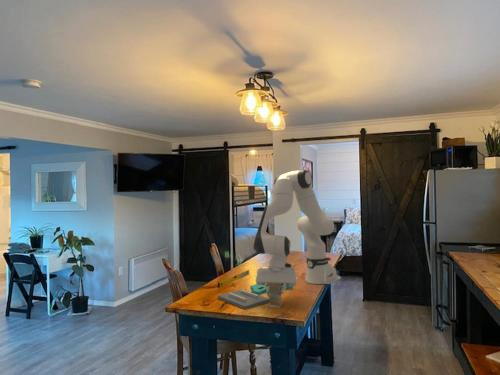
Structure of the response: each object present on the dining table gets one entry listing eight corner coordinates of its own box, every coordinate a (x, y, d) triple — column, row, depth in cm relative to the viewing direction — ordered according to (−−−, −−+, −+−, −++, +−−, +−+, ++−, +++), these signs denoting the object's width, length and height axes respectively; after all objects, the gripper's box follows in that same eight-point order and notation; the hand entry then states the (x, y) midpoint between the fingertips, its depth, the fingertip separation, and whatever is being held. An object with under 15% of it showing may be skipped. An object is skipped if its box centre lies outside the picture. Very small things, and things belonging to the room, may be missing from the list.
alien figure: (293, 289, 202) (264, 284, 215) (292, 285, 202) (264, 280, 215) (272, 299, 187) (242, 292, 200) (272, 294, 187) (242, 289, 200)
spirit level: (219, 287, 211) (219, 282, 211) (218, 287, 211) (217, 282, 211) (249, 274, 239) (248, 270, 239) (247, 274, 240) (247, 270, 240)
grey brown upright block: (270, 303, 178) (270, 281, 178) (281, 304, 177) (281, 281, 177) (269, 307, 173) (268, 284, 173) (280, 307, 172) (279, 284, 172)
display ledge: (242, 291, 200) (242, 286, 200) (270, 301, 181) (270, 295, 181) (217, 298, 190) (217, 292, 190) (245, 309, 171) (244, 303, 171)
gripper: (256, 264, 184) (252, 288, 175) (296, 264, 179) (294, 290, 170) (258, 271, 189) (255, 295, 179) (297, 271, 184) (296, 296, 174)
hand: (274, 292), depth 174 cm, fingers closed on grey brown upright block, 5 cm apart
